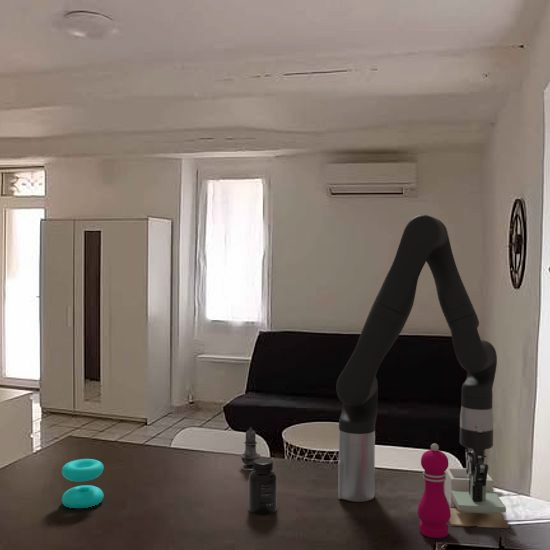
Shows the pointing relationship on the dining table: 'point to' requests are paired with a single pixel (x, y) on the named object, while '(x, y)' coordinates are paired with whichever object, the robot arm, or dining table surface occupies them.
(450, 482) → the storage box
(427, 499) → the pepper mill
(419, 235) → the robot arm
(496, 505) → the lid
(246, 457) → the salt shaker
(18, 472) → the dining table surface
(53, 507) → the dining table surface
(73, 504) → the donuts
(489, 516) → the cork mat
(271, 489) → the supplement bottle
